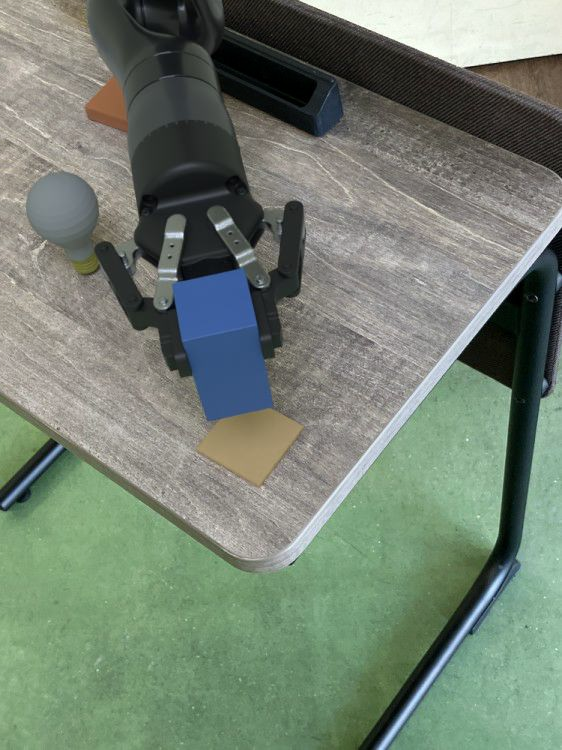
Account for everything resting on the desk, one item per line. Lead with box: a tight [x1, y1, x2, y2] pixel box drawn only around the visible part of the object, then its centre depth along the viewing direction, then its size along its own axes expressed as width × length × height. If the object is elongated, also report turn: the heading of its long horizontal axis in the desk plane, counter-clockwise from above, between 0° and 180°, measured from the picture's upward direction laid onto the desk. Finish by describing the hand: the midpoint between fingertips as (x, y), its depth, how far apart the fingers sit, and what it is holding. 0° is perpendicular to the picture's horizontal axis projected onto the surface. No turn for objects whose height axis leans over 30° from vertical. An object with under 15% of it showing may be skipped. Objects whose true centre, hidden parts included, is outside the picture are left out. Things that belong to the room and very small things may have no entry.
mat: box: [195, 408, 305, 488], centre depth 68 cm, size 6×6×1 cm
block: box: [172, 268, 275, 422], centre depth 59 cm, size 4×4×9 cm
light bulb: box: [25, 171, 100, 275], centre depth 75 cm, size 5×6×10 cm
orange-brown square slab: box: [84, 75, 128, 133], centre depth 90 cm, size 8×8×2 cm
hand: (226, 359), depth 56 cm, fingers closed on block, 4 cm apart
